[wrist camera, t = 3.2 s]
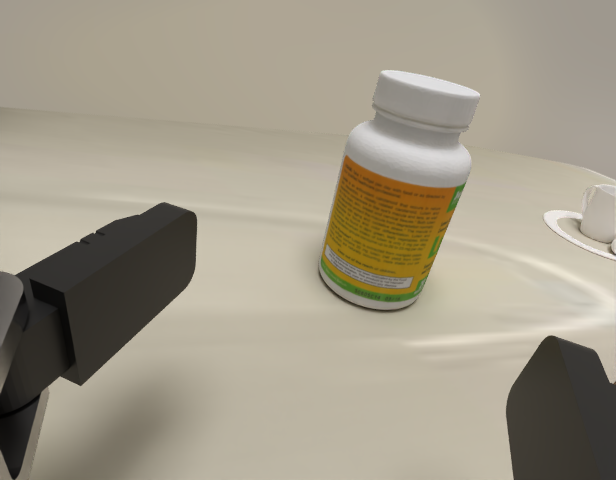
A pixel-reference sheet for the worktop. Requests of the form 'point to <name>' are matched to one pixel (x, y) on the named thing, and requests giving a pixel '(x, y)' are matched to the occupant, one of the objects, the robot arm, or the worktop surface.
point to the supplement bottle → (397, 190)
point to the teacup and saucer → (591, 219)
